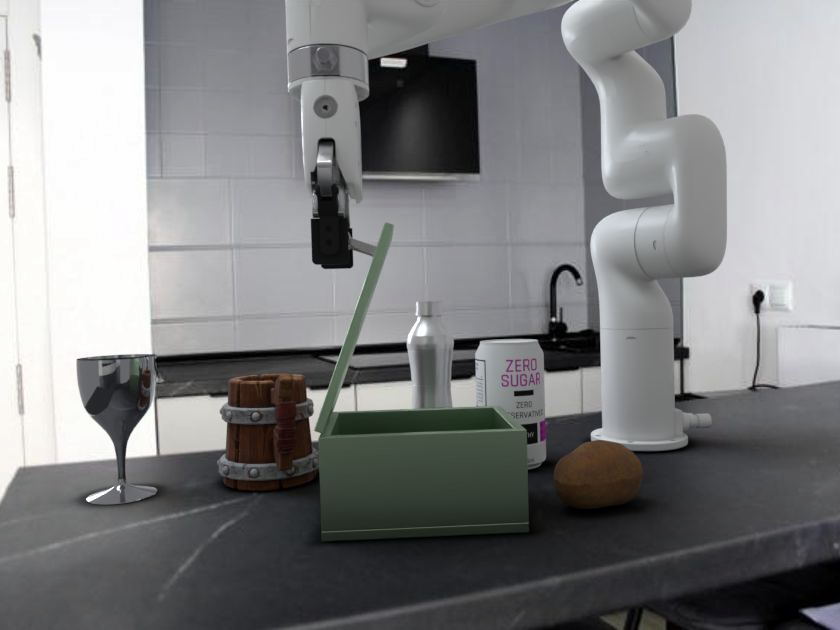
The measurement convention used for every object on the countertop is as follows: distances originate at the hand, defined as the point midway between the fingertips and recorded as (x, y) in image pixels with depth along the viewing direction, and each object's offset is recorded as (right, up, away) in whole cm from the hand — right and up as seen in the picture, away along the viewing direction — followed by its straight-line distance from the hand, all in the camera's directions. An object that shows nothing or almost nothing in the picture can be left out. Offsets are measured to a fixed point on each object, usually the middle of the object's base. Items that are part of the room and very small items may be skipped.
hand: (334, 265), depth 66 cm
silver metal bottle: (+10, -23, +28) cm, 38 cm away
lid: (+3, -6, 0) cm, 6 cm away
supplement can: (+19, -23, +20) cm, 36 cm away
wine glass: (-24, -24, +10) cm, 36 cm away
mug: (-8, -24, +14) cm, 29 cm away
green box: (+8, -23, +1) cm, 25 cm away
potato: (+25, -23, +2) cm, 34 cm away
